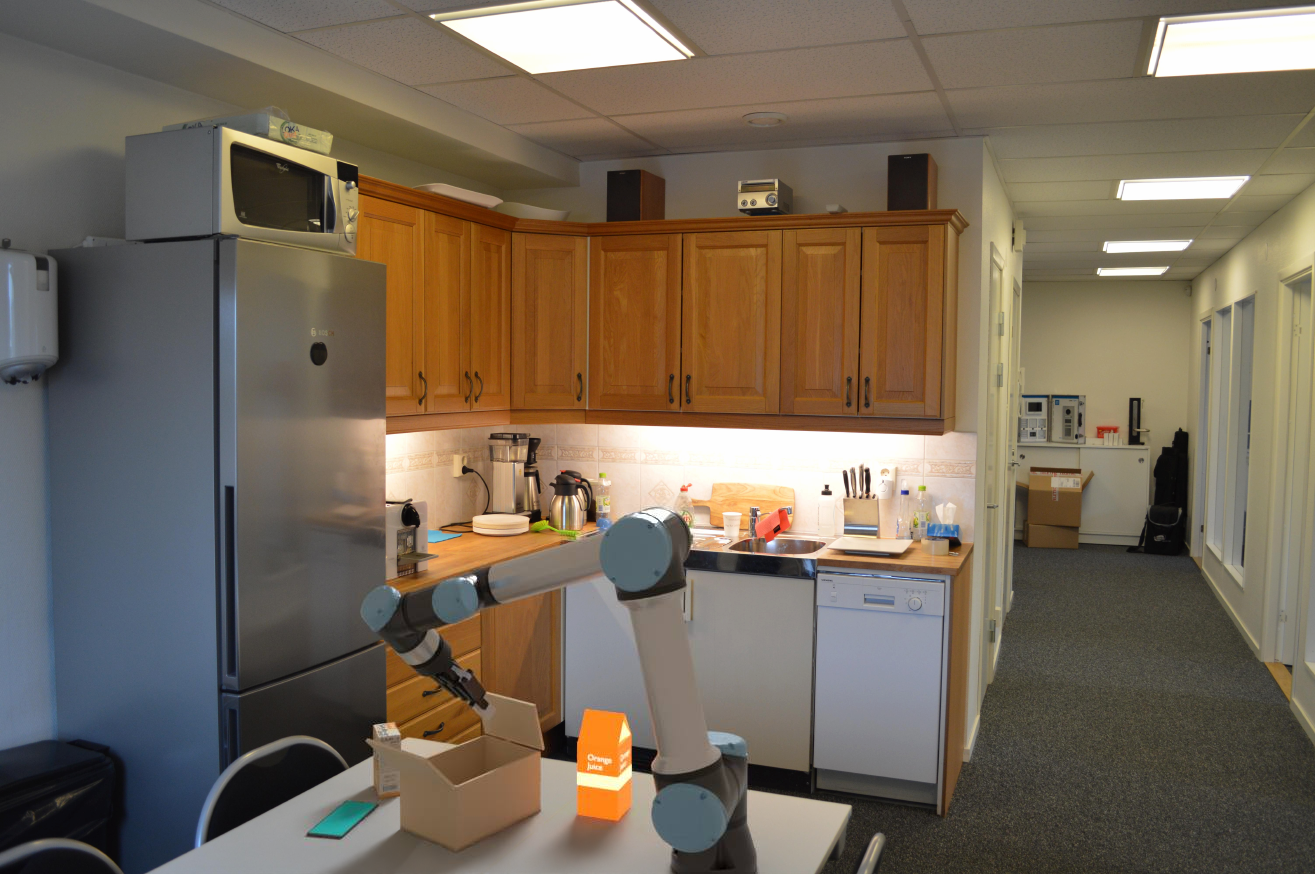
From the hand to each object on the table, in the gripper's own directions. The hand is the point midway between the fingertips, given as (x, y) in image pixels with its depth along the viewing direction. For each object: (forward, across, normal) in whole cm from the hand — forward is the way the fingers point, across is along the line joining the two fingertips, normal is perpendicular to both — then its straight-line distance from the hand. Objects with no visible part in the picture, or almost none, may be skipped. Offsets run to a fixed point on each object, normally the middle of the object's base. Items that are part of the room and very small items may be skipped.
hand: (490, 714), depth 186 cm
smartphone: (0, +20, +28) cm, 35 cm away
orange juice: (+24, -18, +4) cm, 30 cm away
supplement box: (+10, +25, +18) cm, 32 cm away
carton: (+10, 0, +17) cm, 20 cm away
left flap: (-11, 0, +16) cm, 20 cm away
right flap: (+5, 0, -2) cm, 6 cm away
